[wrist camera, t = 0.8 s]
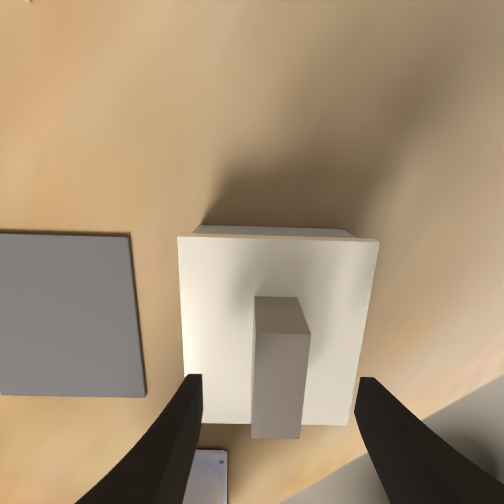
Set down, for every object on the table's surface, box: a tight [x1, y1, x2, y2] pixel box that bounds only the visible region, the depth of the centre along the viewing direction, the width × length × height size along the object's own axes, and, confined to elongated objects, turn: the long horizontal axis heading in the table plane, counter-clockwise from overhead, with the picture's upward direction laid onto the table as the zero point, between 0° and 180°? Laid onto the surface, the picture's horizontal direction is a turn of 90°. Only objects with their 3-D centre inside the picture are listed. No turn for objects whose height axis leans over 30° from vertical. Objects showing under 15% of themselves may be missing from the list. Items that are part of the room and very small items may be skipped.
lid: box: [177, 233, 380, 439], centre depth 14 cm, size 13×11×5 cm
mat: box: [0, 233, 146, 398], centre depth 20 cm, size 14×12×1 cm
